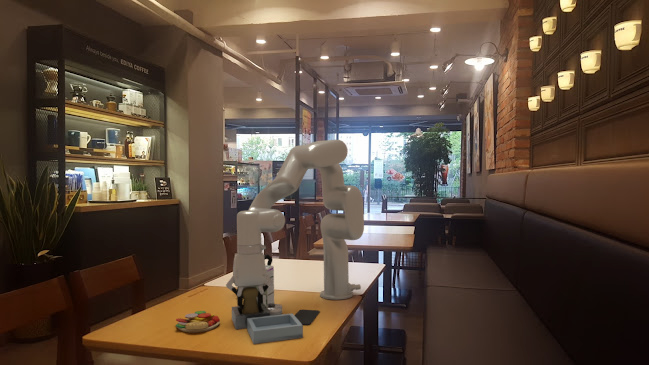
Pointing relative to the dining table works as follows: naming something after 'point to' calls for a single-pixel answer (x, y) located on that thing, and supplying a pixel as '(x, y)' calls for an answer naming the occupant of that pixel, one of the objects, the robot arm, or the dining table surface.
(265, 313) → the collar
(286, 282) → the dining table surface
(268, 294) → the syrup box
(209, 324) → the toy food set
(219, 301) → the dining table surface
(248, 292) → the cork
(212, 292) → the dining table surface
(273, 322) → the tray
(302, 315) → the phone
